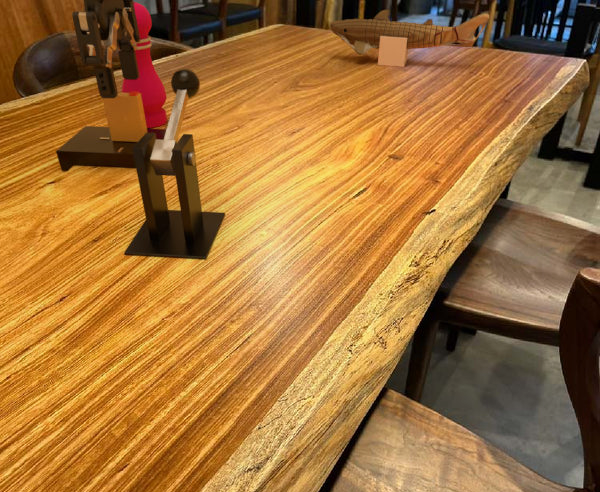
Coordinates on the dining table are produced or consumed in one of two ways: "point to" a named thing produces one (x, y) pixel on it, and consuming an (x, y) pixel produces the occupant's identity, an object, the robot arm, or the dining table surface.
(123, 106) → the block
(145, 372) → the dining table surface
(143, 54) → the pepper mill
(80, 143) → the plate
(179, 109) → the latch lever
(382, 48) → the wood carving
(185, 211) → the bracket
